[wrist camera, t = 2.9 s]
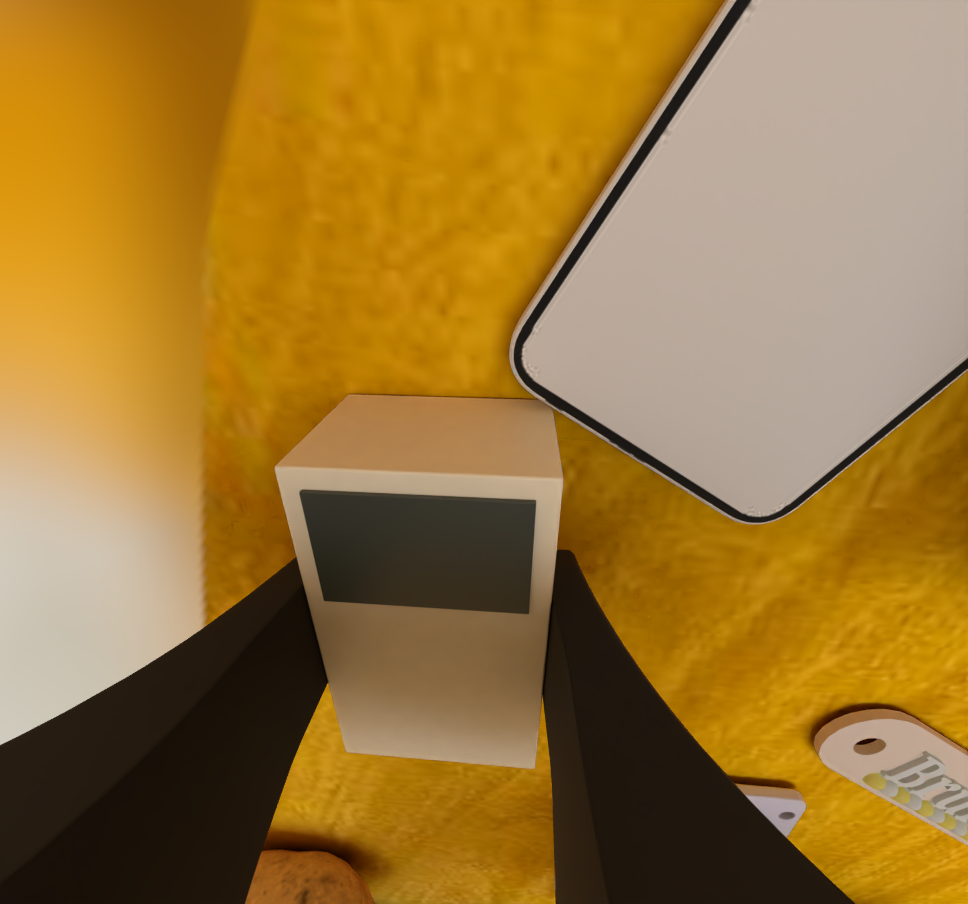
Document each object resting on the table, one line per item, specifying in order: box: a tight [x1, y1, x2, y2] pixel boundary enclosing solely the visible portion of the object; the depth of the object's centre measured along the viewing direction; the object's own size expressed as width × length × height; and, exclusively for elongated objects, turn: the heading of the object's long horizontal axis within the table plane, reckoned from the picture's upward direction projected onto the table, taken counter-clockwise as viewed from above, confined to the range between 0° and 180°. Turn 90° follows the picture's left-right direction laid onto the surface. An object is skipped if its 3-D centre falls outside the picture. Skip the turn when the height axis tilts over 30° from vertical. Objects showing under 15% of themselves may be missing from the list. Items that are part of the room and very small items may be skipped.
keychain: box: [813, 709, 968, 845], centre depth 14 cm, size 10×1×3 cm
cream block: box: [274, 394, 564, 769], centre depth 10 cm, size 8×5×4 cm, turn 0°
